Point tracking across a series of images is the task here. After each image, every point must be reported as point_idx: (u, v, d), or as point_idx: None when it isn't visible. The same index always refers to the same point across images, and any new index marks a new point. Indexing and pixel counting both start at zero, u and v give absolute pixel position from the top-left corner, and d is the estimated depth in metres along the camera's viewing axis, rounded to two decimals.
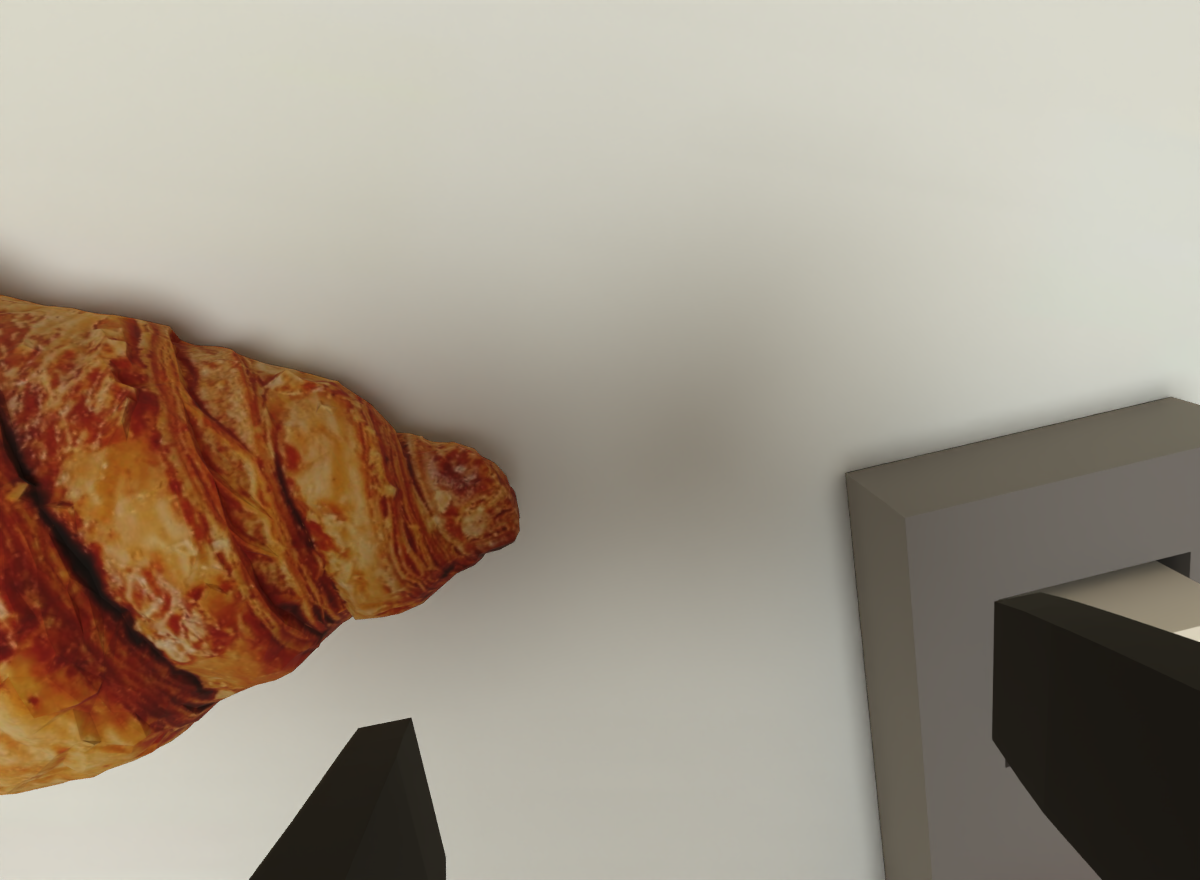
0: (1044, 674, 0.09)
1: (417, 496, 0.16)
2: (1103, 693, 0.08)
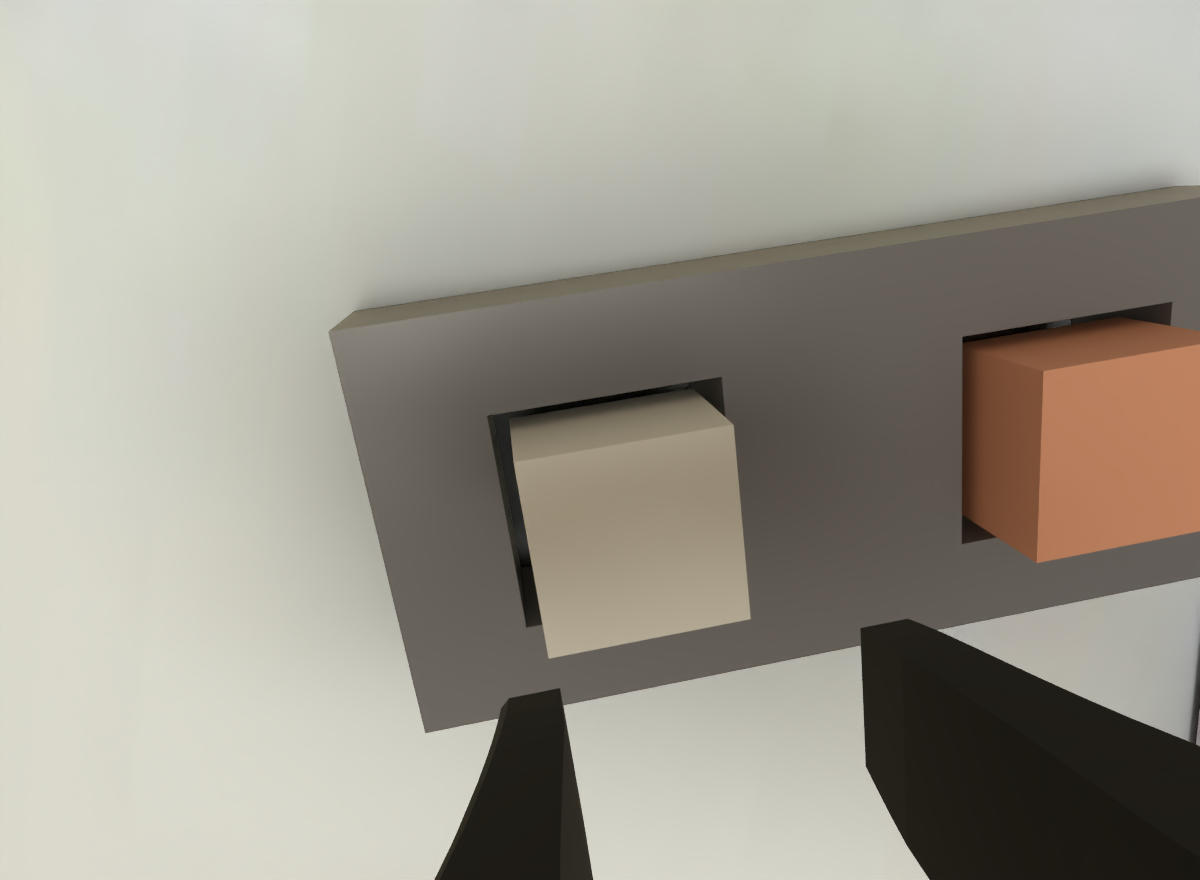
0: (899, 705, 0.09)
1: None
2: (944, 727, 0.08)
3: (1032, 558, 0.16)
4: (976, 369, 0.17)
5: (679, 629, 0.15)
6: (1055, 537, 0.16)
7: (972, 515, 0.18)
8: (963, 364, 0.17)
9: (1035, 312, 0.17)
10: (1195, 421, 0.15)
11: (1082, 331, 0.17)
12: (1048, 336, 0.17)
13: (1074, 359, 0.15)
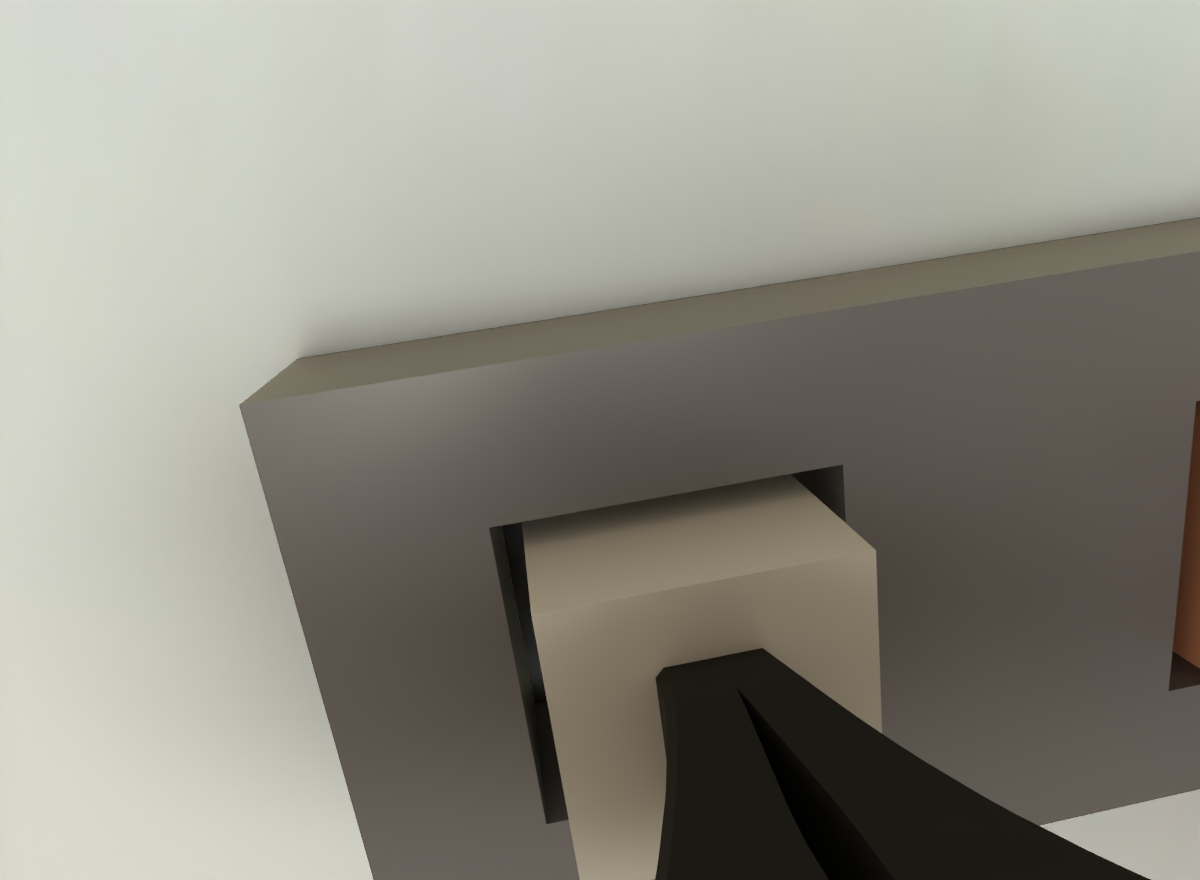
0: None
1: None
2: None
3: None
4: None
5: None
6: None
7: (1182, 649, 0.13)
8: None
9: None
10: None
11: None
12: None
13: None
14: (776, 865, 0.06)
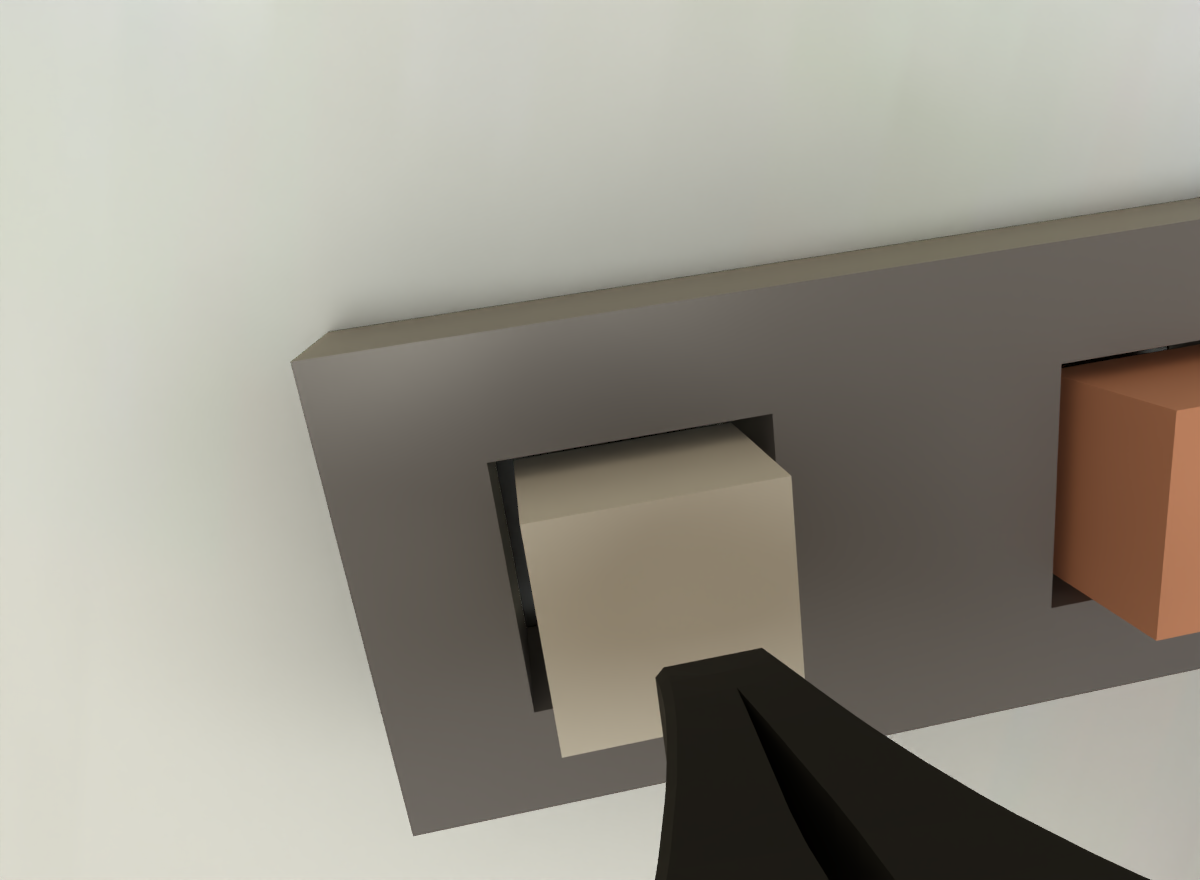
0: None
1: None
2: None
3: (1150, 634, 0.13)
4: (1075, 402, 0.14)
5: None
6: (1180, 610, 0.13)
7: (1063, 573, 0.15)
8: None
9: (1149, 334, 0.14)
10: None
11: None
12: (1160, 362, 0.14)
13: None
14: (776, 864, 0.06)
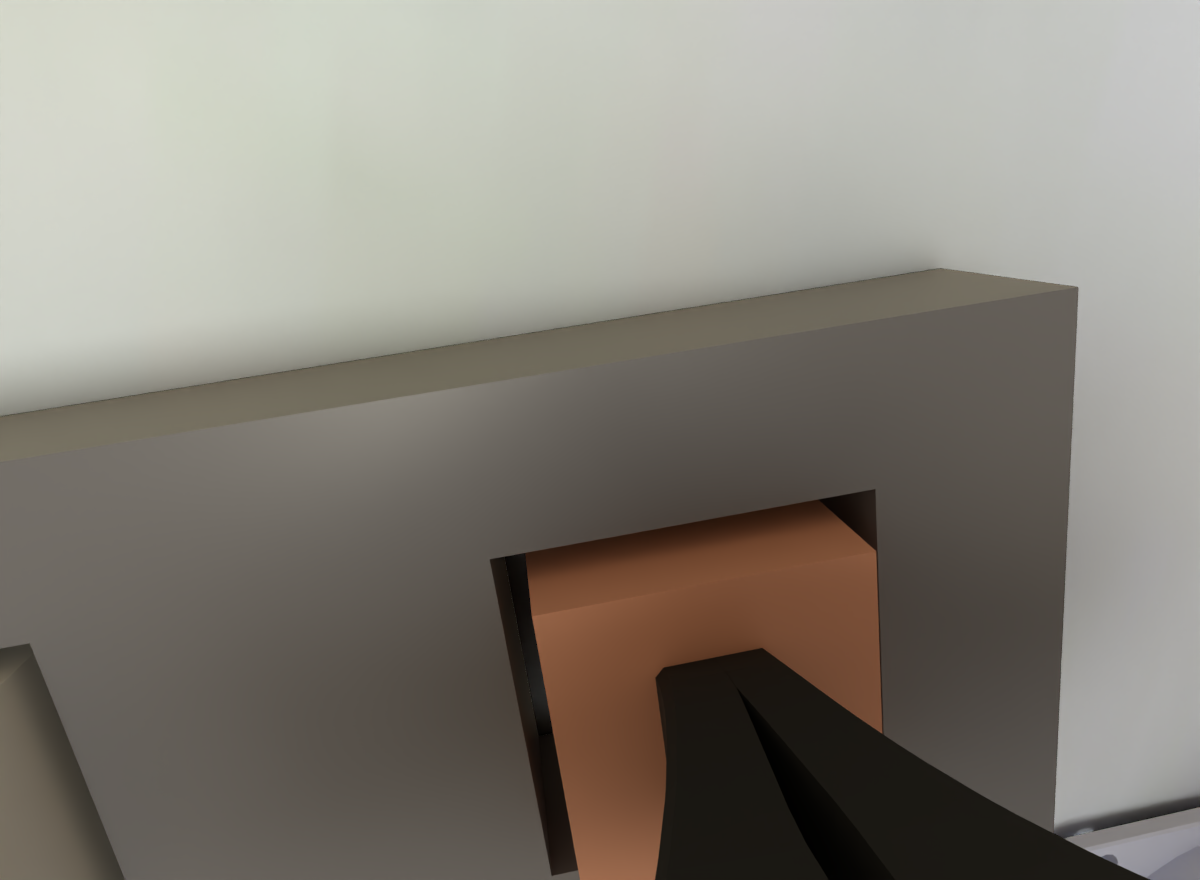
0: None
1: None
2: None
3: None
4: None
5: None
6: (608, 858, 0.10)
7: None
8: None
9: (621, 515, 0.09)
10: (821, 679, 0.09)
11: None
12: None
13: (606, 586, 0.09)
14: (776, 865, 0.06)
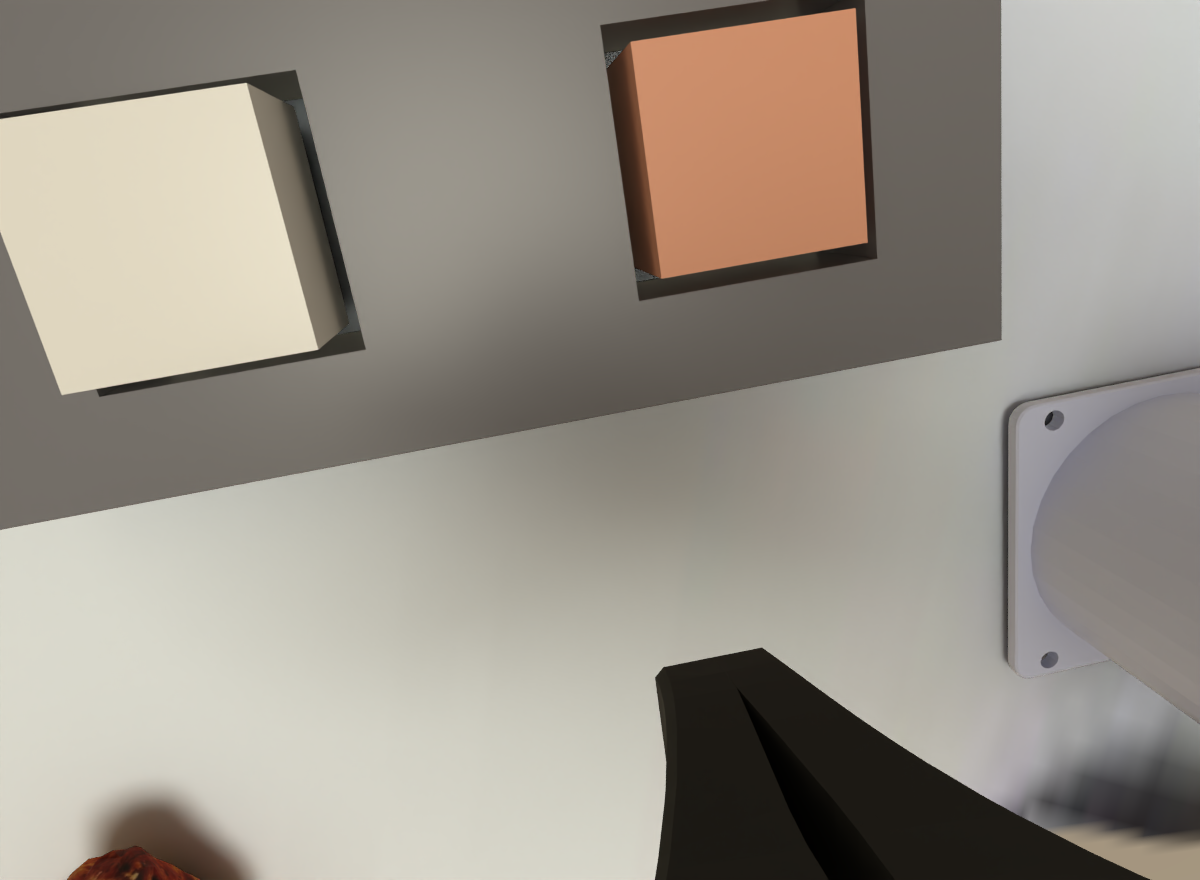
0: None
1: None
2: None
3: (660, 276, 0.15)
4: (614, 85, 0.15)
5: (232, 363, 0.13)
6: (679, 248, 0.14)
7: (638, 262, 0.17)
8: (610, 87, 0.16)
9: None
10: (821, 110, 0.14)
11: None
12: None
13: (676, 38, 0.14)
14: (776, 865, 0.06)
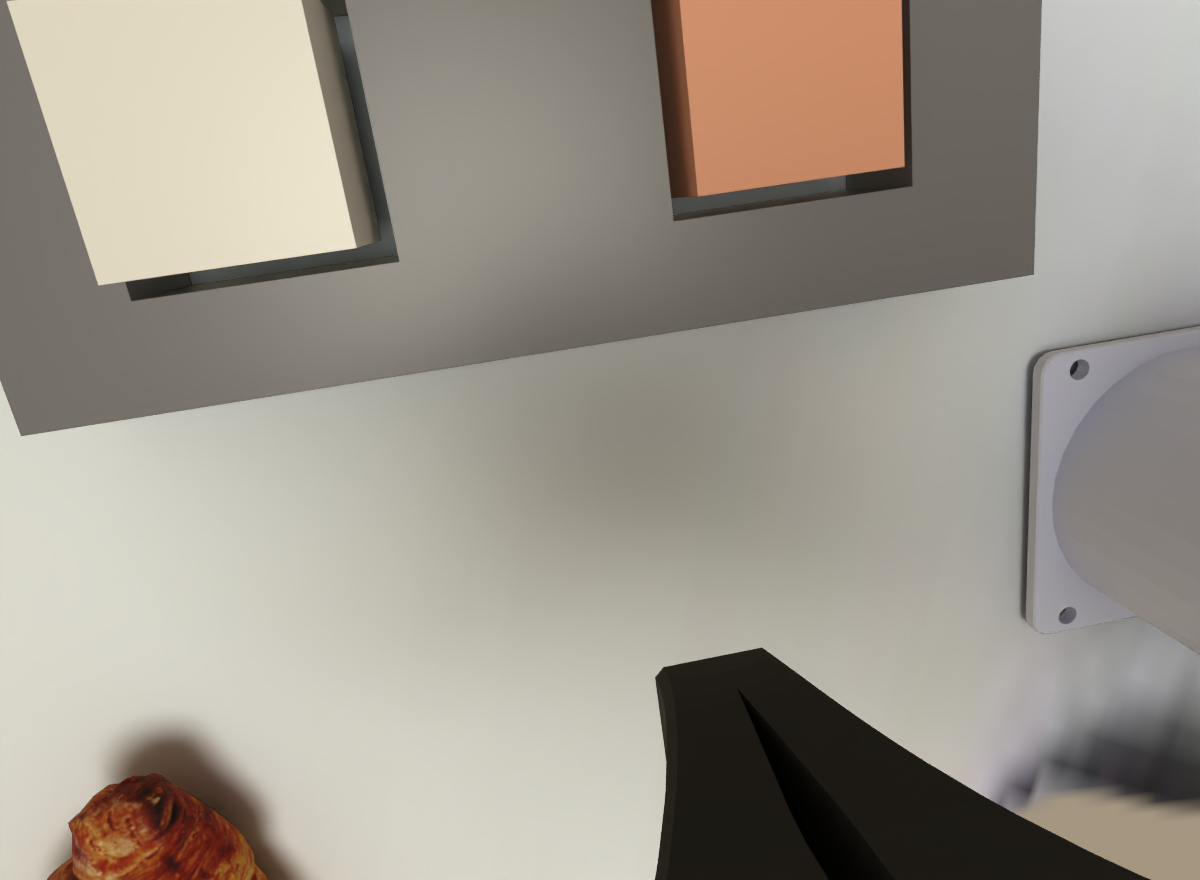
0: None
1: None
2: None
3: (696, 194, 0.15)
4: (653, 6, 0.15)
5: (270, 260, 0.13)
6: (716, 165, 0.14)
7: (671, 190, 0.17)
8: None
9: None
10: (862, 28, 0.14)
11: None
12: None
13: None
14: (776, 865, 0.06)
